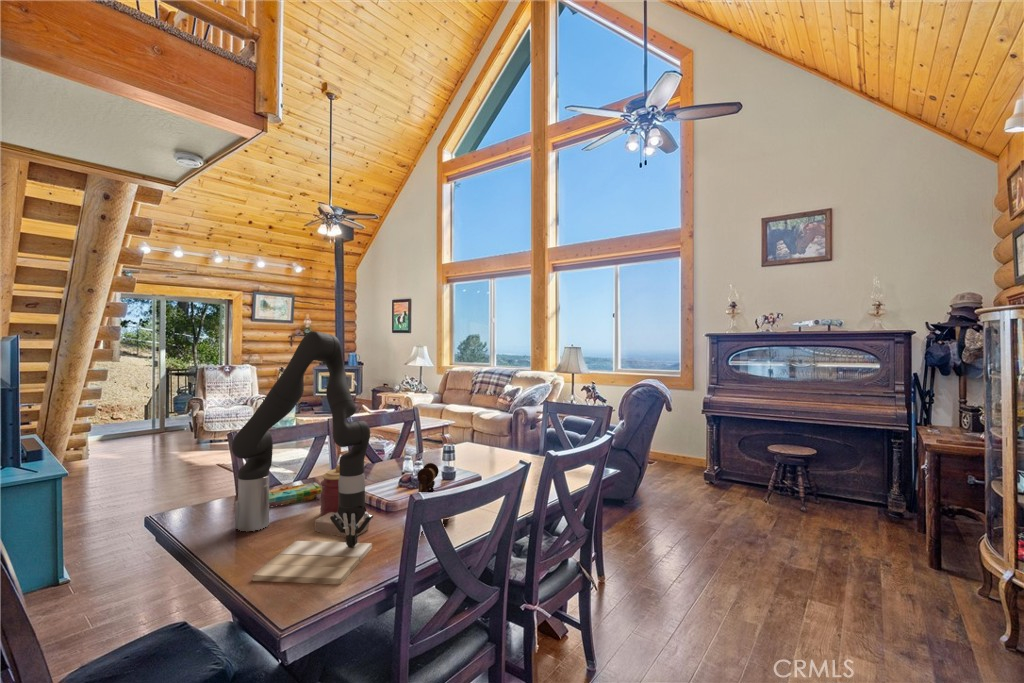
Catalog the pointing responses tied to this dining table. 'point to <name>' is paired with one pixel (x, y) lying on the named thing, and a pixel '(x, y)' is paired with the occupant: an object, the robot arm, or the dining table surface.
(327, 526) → the brick
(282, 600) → the dining table surface
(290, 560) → the oak floor boards
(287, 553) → the ash plank
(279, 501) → the puzzle game
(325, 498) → the canister
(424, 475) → the dark brown upright piece
